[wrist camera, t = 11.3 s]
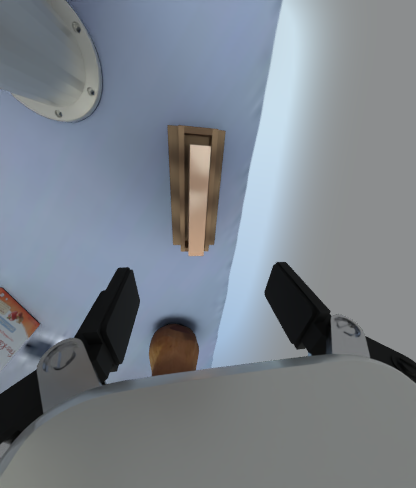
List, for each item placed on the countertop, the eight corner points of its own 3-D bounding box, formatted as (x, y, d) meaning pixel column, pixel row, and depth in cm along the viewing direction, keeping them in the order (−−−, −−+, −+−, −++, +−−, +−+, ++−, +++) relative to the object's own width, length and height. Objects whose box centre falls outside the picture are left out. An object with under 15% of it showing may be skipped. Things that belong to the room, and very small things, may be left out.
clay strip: (188, 146, 26) (190, 144, 19) (204, 147, 26) (210, 146, 19) (187, 234, 34) (188, 256, 27) (199, 234, 34) (203, 255, 27)
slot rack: (168, 125, 25) (165, 122, 21) (224, 131, 26) (230, 128, 23) (173, 242, 35) (172, 252, 32) (213, 242, 37) (216, 251, 33)
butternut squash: (152, 339, 53) (131, 468, 31) (153, 313, 46) (127, 453, 25) (194, 339, 56) (200, 456, 34) (200, 314, 49) (212, 440, 28)
